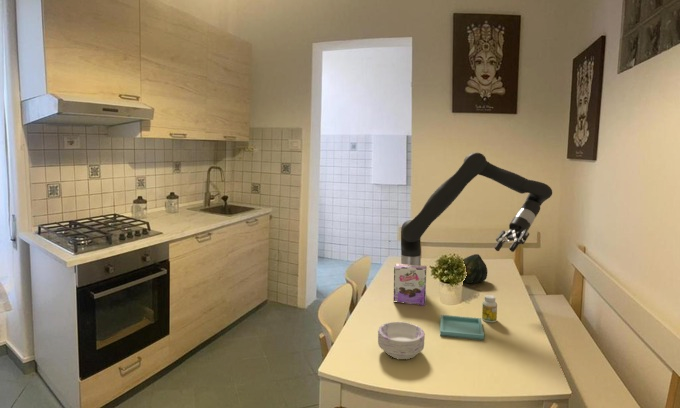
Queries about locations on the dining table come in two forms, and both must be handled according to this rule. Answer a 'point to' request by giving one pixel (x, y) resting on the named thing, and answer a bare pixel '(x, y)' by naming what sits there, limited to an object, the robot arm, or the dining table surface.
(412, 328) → the paper bowls
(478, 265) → the squash
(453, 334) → the teal tray
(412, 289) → the candy box
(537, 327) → the dining table surface
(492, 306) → the supplement bottle
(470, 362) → the dining table surface
